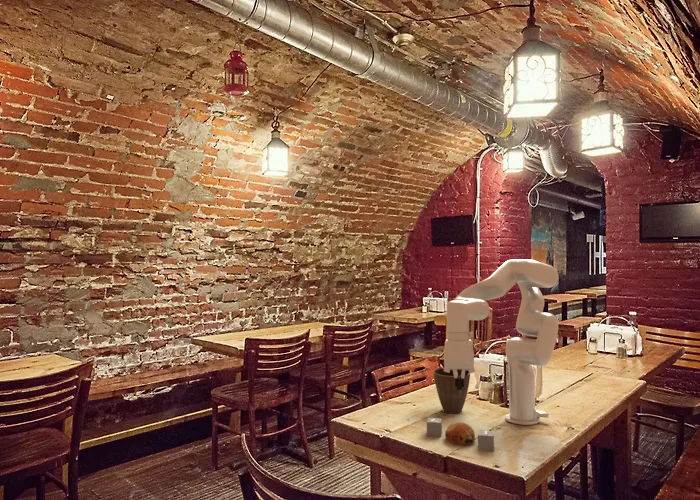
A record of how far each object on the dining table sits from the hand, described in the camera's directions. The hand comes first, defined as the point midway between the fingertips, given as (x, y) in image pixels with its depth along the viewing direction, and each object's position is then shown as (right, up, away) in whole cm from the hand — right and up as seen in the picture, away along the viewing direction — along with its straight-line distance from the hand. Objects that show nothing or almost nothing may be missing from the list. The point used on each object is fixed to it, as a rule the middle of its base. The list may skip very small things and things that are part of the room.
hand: (459, 388), depth 184 cm
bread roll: (0, -18, -2) cm, 18 cm away
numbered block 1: (+7, -17, -9) cm, 21 cm away
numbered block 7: (-8, -18, +5) cm, 20 cm away
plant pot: (+4, -18, +33) cm, 38 cm away
